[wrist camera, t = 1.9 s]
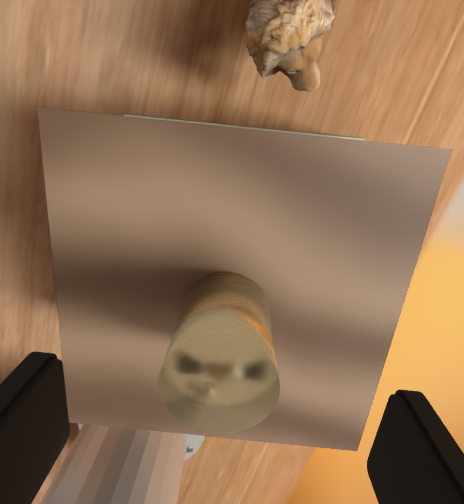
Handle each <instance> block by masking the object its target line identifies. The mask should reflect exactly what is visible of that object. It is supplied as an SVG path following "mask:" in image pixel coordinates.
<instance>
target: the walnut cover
mask: <svg viewBox="0 0 464 504" xmlns="http://www.w3.org/2000/svg"><path fill="white" fill-rule="evenodd" d="M37 111H38V121H39V131H40V141H41V151H42V161H43V171H44V180H45V190H46V200H47V210H48V220H49V230H50V240H51V250H52V260H53V269H54V279H55V289H56V299H57V309H58V319H59V329H60V339H61V349H62V358H63V368H64V378H65V388H66V398H67V408H68V417H69V423H79V424H89V425H99V426H109V427H119V428H129V429H139V430H149V431H159V432H170V433H180V434H190V435H200V436H210V437H220V438H230V439H240V440H250V441H260V442H270V443H280V444H290V445H300V446H310V447H321V448H331V449H340V450H351V451H357V450H358V447H359V443H360V440H361V437H362V434H363V431H364V427H365V424H366V421H367V418H368V415H369V411H370V409H371V405H372V402H373V399H374V396H375V393H376V390H377V386H378V383H379V380H380V377H381V374H382V370H383V367H384V364H385V361H386V358H387V355H388V351H389V348H390V345H391V342H392V338H393V336H394V332H395V329H396V326H397V323H398V319H399V316H400V313H401V310H402V307H403V304H404V301H405V297H406V294H407V291H408V288H409V285H410V282H411V278H412V275H413V272H414V269H415V266H416V262H417V259H418V256H419V253H420V250H421V247H422V243H423V240H424V237H425V234H426V231H427V228H428V224H429V221H430V218H431V215H432V212H433V209H434V205H435V202H436V199H437V196H438V193H439V189H440V186H441V183H442V180H443V177H444V174H445V170H446V167H447V164H448V161H449V158H450V155H451V151H452V149H442V148H432V147H422V146H413V145H403V144H393V143H383V142H374V141H364V140H354V139H344V138H335V137H325V136H315V135H305V134H296V133H286V132H276V131H267V130H257V129H247V128H237V127H228V126H218V125H208V124H198V123H189V122H179V121H169V120H159V119H150V118H140V117H130V116H120V115H111V114H101V113H91V112H81V111H72V110H62V109H52V108H43V107H37Z"/></svg>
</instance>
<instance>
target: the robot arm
mask: <svg viewBox="0 0 464 504" xmlns="http://www.w3.org/2000/svg"><path fill="white" fill-rule="evenodd" d="M77 424H78V427H79V430H80V431H79V433H78V435H77V437H76V439H75V441H74V442H73V444H72V446H71V448H70V450H69V451H68V453H67V455H66V457H65V459H64V460H63V462H62V464H61V466H60V468H59V470H58V471H57V473H56V475H55V477H54V479H53V480H52V482H51V484H50V486H49V488H48V490H47V491H46V493H45V495H44V497H43V499H42V500H41V502H40V504H177V499H178V493H179V488H180V482H181V476H182V471H183V465H184V461H185V460H187V459H188V458H190V457H191V456H192V455H193V454H194V453H195V452H196V451H197V450H198V449H199V448H200V446H201V444H202V442H203V440H204V437H205V436H200V435H190V434H180V433H170V432H159V431H149V430H139V429H129V428H119V427H109V426H99V425H89V424H79V423H77ZM69 432H70V426H69V417H68V408H67V400H66V391H65V382H64V373H63V364H62V361H61V360H58V359H57V356H56V355H55V354H53V353H43V352H32V353H30V354H29V355H28V356H27V357H26V358H25V359H24V360H23V361H22V362H21V363H20V364H19V365H18V366H17V367H16V368H15V369H14V371H13V372H12V373H11V374H10V375H9V376H8V377H7V378H6V379H5V380H4V381H3V382H2V383H1V384H0V504H31V503H32V501H33V500H34V498H35V496H36V494H37V493H38V491H39V489H40V487H41V486H42V484H43V482H44V481H45V479H46V477H47V475H48V474H49V472H50V470H51V468H52V467H53V465H54V463H55V461H56V460H57V458H58V456H59V454H60V453H61V451H62V449H63V447H64V446H65V444H66V442H67V439H68V436H69ZM367 470H368V474H369V478H370V480H371V483H372V486H373V489H374V492H375V494H376V497H377V500H378V502H379V504H464V453H463V452H462V451H461V449H460V448H459V446H458V445H457V443H456V442H455V440H454V439H453V437H452V436H451V434H450V433H449V431H448V430H447V428H446V427H445V425H444V424H443V422H442V421H441V419H440V418H439V416H438V415H437V413H436V412H435V411H434V409H433V407H432V406H431V405H430V403H429V402H428V400H427V399H426V397H425V396H424V395H423V393H421V392H418V391H408V390H397V391H396V393H395V395H394V394H393V395H391V396H390V397H389V399H388V402H387V405H386V408H385V411H384V414H383V417H382V420H381V422H380V426H379V428H378V431H377V434H376V437H375V440H374V443H373V445H372V448H371V451H370V454H369V457H368V460H367Z"/></svg>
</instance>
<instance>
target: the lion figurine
mask: <svg viewBox="0 0 464 504" xmlns="http://www.w3.org/2000/svg"><path fill="white" fill-rule="evenodd" d="M338 3H339V0H251V2H250V4H249V6H250V10H249V12H248V14H247V21H246V23H245V27H246V32H247V48H248V51H249V55H250V56H252V57H253V60H254V63H255V64H256V66H257V71H258V72H259V73H260V75H261V76H262V77H264V76H268V75H271V74H276V73H277V72H278V71H281V72H283V73H284V74H285V75H286V76H287V77H288V78H289V79H290V80H291V83H292V85H293V87H294V88H295V89H296V90H299V91H303V90H304V91H307V92H309V91H313V90H315V89H317V88H318V86H319V84H320V79H319V78H320V71H319V68H318V66H317V64H316V59H317V57H318V55H319V53H320V51H321V46H322V38H323V37H324V35H325V33H326V32H328V31H329V30H330V29H331V26H330V24H331V21H332V20H333V19H334V18H335V15H333V14H334V12H335V10H336V7H337V5H338Z"/></svg>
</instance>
